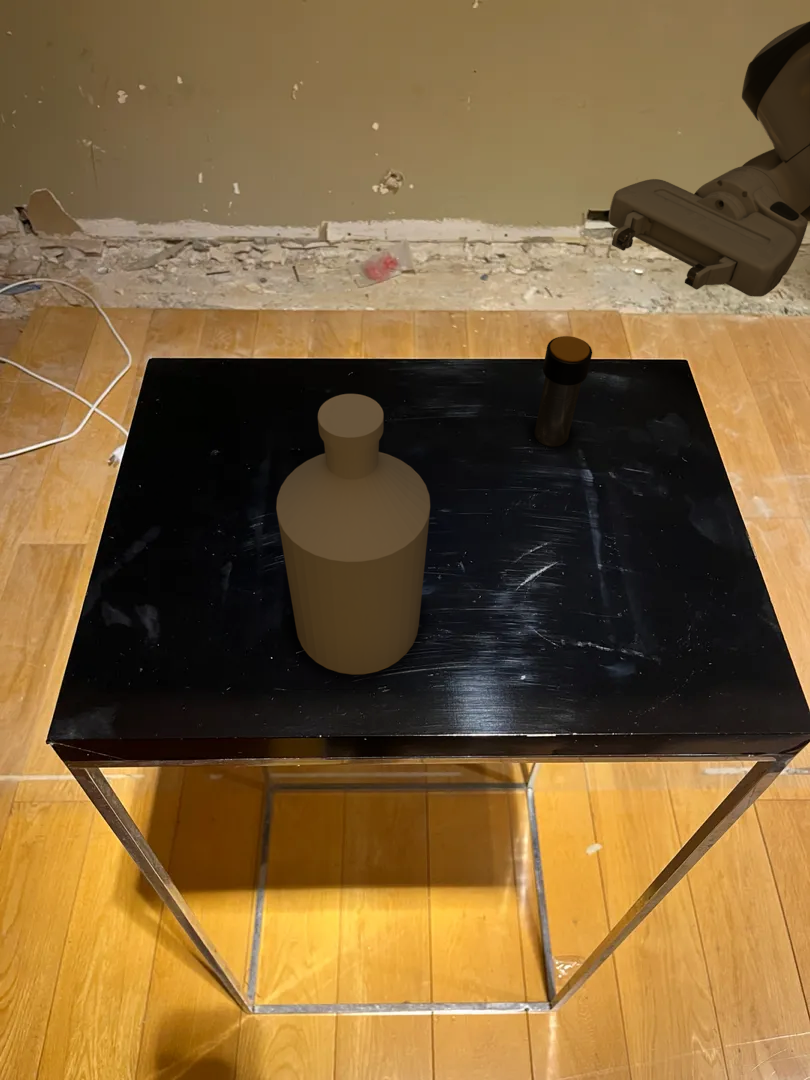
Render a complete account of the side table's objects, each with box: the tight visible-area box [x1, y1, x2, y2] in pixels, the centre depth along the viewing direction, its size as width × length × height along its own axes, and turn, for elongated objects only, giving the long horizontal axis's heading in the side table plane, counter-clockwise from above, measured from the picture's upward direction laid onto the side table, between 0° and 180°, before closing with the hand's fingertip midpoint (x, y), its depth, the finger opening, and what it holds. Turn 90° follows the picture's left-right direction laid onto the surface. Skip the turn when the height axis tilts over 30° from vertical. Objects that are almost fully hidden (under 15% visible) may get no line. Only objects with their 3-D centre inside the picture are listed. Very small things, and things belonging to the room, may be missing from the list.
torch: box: [533, 335, 593, 448], centre depth 88 cm, size 5×5×12 cm
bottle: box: [275, 393, 431, 675], centre depth 67 cm, size 12×12×25 cm
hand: (653, 260), depth 85 cm, fingers open, 8 cm apart
